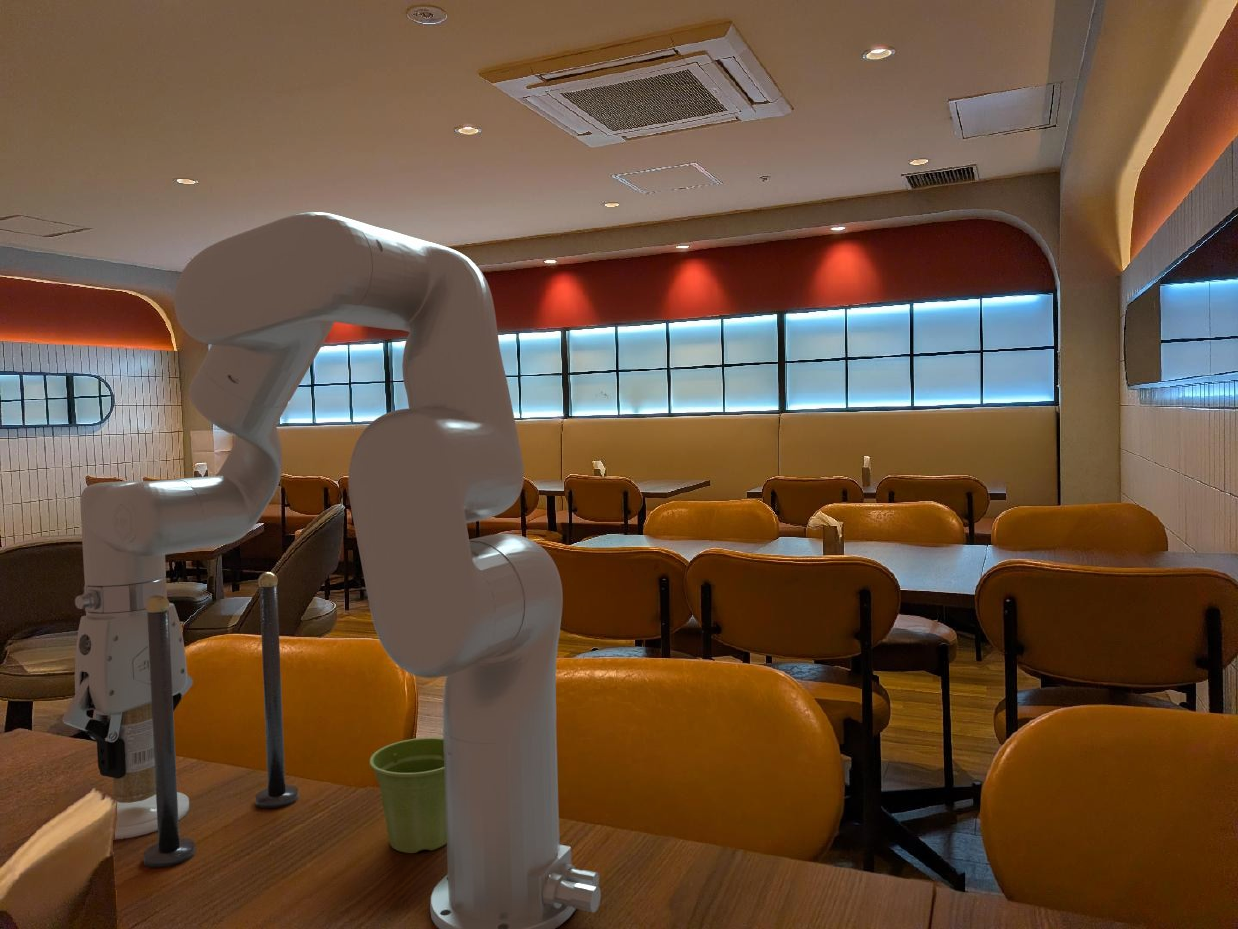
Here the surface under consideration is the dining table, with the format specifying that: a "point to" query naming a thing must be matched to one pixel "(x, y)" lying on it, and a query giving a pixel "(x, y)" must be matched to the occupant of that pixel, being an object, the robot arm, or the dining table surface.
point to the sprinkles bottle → (136, 756)
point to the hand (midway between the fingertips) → (135, 765)
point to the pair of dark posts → (169, 843)
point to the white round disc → (143, 816)
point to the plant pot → (413, 793)
